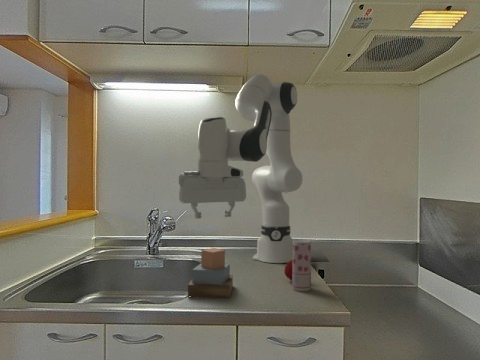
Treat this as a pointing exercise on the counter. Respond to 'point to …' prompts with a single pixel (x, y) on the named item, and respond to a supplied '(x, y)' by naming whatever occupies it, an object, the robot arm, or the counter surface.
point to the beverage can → (301, 265)
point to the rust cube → (213, 258)
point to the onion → (289, 269)
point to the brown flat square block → (211, 289)
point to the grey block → (210, 275)
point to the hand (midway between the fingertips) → (213, 217)
